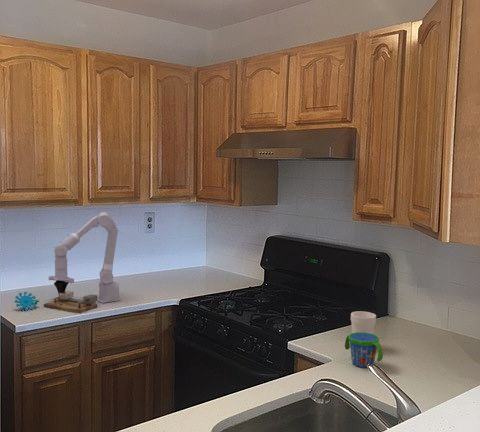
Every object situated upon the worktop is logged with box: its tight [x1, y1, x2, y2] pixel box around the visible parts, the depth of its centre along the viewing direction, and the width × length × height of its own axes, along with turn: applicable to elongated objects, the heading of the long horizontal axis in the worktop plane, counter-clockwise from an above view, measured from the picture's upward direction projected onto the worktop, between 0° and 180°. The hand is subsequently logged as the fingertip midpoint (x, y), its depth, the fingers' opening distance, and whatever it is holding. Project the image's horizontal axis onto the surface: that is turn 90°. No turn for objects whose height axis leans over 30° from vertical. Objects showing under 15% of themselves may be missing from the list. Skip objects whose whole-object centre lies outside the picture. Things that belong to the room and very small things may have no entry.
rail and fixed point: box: [56, 294, 98, 307], centre depth 257 cm, size 11×21×4 cm, turn 65°
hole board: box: [43, 299, 98, 314], centre depth 256 cm, size 12×22×2 cm, turn 65°
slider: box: [52, 290, 75, 303], centre depth 259 cm, size 11×4×4 cm, turn 155°
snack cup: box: [344, 332, 384, 368], centre depth 191 cm, size 16×10×10 cm
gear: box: [14, 291, 40, 312], centre depth 253 cm, size 11×6×10 cm
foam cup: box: [350, 310, 377, 334], centre depth 208 cm, size 10×9×13 cm
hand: (61, 295), depth 263 cm, fingers closed
